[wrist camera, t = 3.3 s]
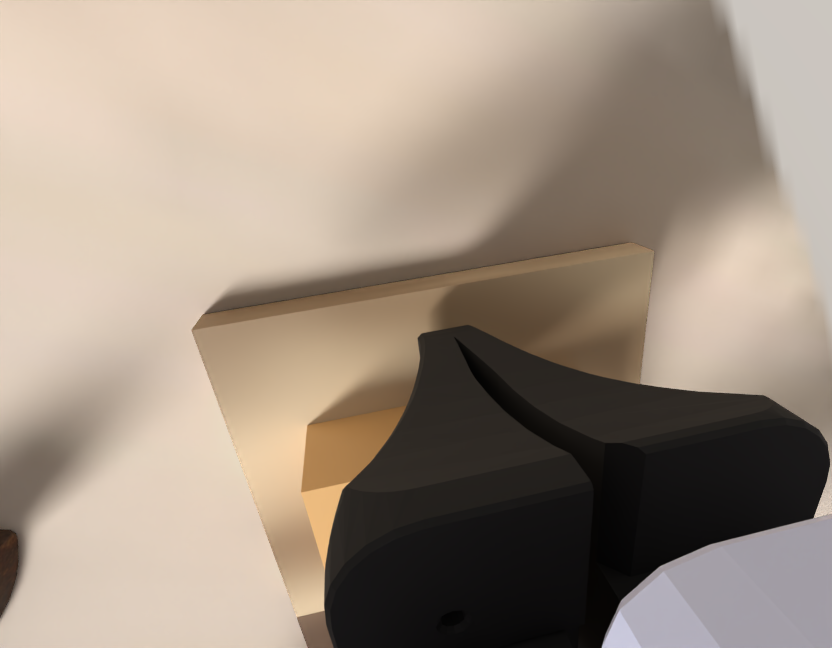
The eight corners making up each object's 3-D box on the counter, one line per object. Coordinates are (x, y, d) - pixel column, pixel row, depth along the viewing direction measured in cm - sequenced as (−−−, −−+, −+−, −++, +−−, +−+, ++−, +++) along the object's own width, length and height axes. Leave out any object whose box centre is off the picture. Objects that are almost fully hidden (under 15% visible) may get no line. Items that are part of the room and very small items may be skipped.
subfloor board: (598, 612, 20) (611, 636, 19) (331, 682, 19) (331, 711, 18) (631, 242, 13) (654, 251, 12) (202, 314, 11) (191, 330, 11)
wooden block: (574, 517, 15) (615, 583, 13) (347, 571, 15) (349, 651, 12) (580, 370, 13) (632, 421, 11) (307, 425, 12) (300, 493, 10)
